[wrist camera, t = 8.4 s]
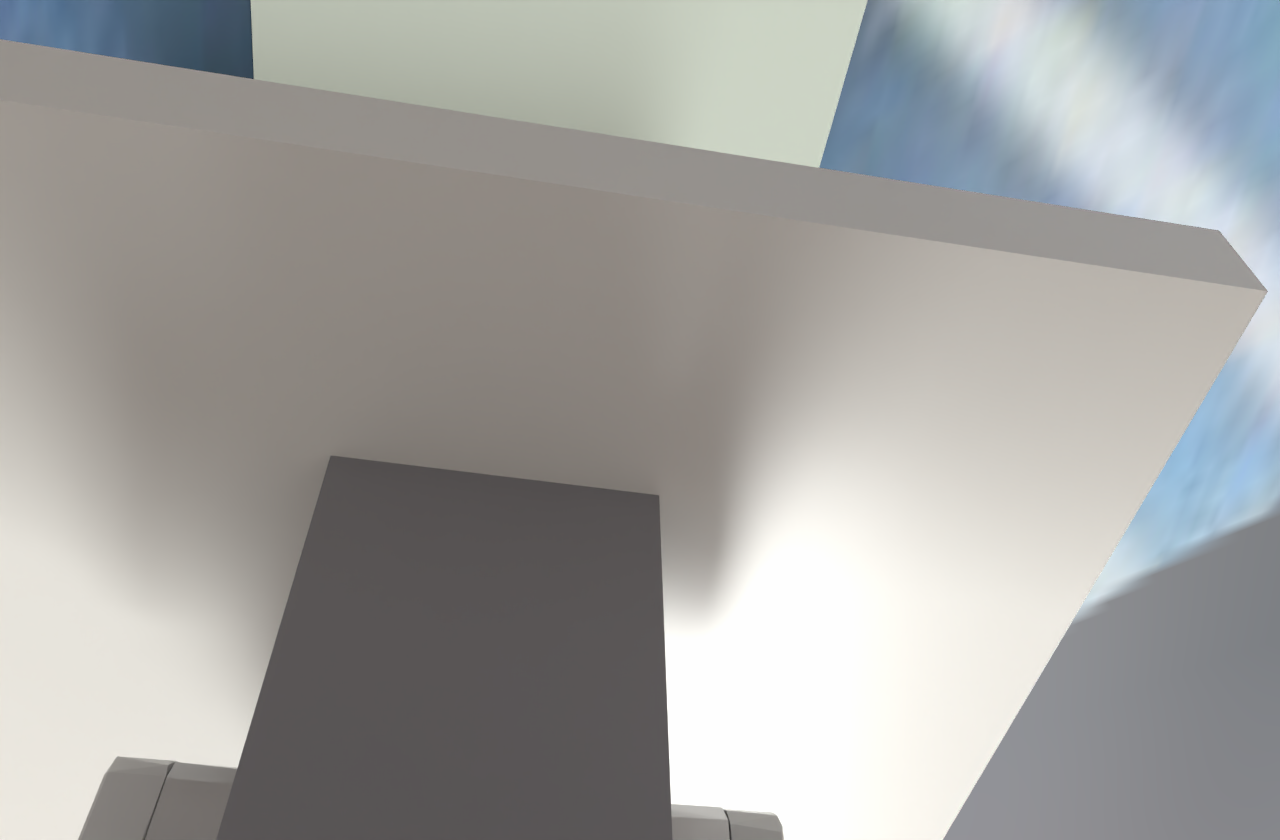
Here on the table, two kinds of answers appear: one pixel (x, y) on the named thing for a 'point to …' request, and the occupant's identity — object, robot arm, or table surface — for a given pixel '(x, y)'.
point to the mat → (584, 63)
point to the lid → (545, 462)
